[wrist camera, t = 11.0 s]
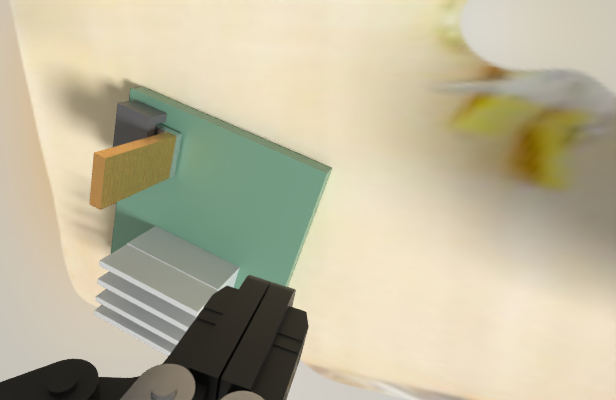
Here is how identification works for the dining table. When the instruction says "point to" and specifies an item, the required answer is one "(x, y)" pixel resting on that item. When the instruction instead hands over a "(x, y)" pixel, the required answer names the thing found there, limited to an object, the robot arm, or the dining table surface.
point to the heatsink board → (202, 220)
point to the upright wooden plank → (133, 166)
